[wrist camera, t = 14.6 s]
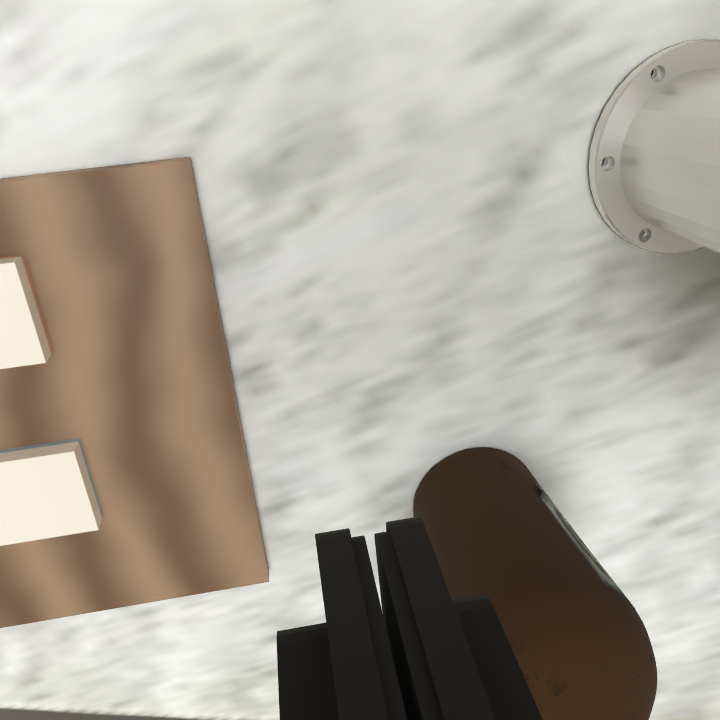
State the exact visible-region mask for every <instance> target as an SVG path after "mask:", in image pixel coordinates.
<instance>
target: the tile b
mask: <svg viewBox="0 0 720 720" xmlns="http://www.w3.org/2000/svg"><path fill="white" fill-rule="evenodd" d="M102 518H103V512H102V509H101V506H100V502H99V499H98V496H97V492H96V489H95V486H94V483H93V479H92V476H91V473H90V470H89V466H88V463H87V460H86V457H85V453H84V450H83V447H82V444H81V440H80V438H78V439H71V440H65V441H58V442H51V443H44V444H38V445H31V446H24V447H18V448H11V449H4V450H0V546H3V545H9V544H16V543H22V542H28V541H34V540H40V539H46V538H53V537H59V536H65V535H71V534H77V533H83V532H90V531H96V530H99V527H100V524H101V521H102Z"/></svg>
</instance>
